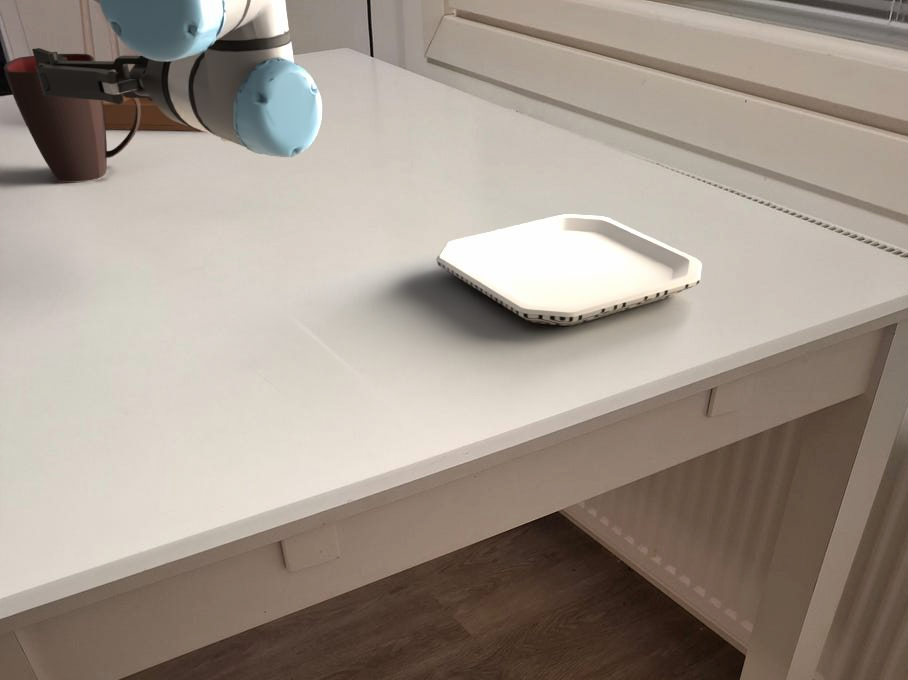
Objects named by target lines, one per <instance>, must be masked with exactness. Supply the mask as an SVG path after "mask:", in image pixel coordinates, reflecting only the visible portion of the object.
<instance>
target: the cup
mask: <svg viewBox="0 0 908 680" xmlns="http://www.w3.org/2000/svg"><path fill="white" fill-rule="evenodd" d="M58 55H61V56H64V57H66V59H67V61H96V59H95V58H94V56H92V55H91V54H89V53H58ZM36 66H37V64H36V61H35V57H34V55H27V56H20V57H17V58H14V59H12V60H10V61H8V62H6V63H5V64H4V66H3V71H4V74H5V77H6V80H7V83H8V86H9V88H10V92H11V95H12V96H13V99H14V101H15V103H16V106H17V108H18V111H19V113H20V115H21V117H22V118H23V122H24V123H25V126H26V127H27V129H28V131H29V133H30V135H31V137H32V140H33V141H34V143H35V145H36V147H37V149H38V151H39V153H40V155H41V156H42V158H43V160H44V161H45V163H46V165H47V166H48V168H49V170H50V171H51V173H52V175H53V176H54V178H55V179H56V180H57V181H59V182H60V183H79V182H80V183H81V182H89V181H96V180H100V179H101V178H103V177H104V176H105V175H106V174H107V170H108V169H107V168H108V167H107V166H108V159H110V158H113V157H115V156H117V155H118V154H120V153H121V152H122V151H123V150H124V149H125V148H126V147H127V146H128V145H129V144H130V143H131V141H132V140H133V138H134V137H135V135H136V133H137V131H138V130H137V129H138V126H139V123H140V116H141V107H140V102H139V99H138V98H133V99H134V101H135V105H136V115H135V121H134V124H133V127H132V129H131V130H129V132H128V134H127V135H126V137H124V139H123V140H122V141H121V142H120V143H119V144H118V145H117V146H116V147H114V148H113V149H111V150H108V146H107V145H108V144H107V143H108V141H107V129H106V128H105V117H104V108H103V101H102V100H91V99H80V98H68V97H57V96H45V95H44V93H43V90H42V86H41V83H40V80H39V76H38V73H37V69H36Z"/></svg>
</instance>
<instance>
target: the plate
mask: <svg viewBox="0 0 908 680" xmlns="http://www.w3.org/2000/svg"><path fill="white" fill-rule="evenodd" d="M436 263H437V265H438V266H439V267H440V268H442V269H444V270H445V271H447V272H448V273H450V274H452V275H453V276H455V277H457V278H458V279H460V280H462V281H463V282H464V283H466V284H468V285H469V286H471V287H473V288H474V289H476V290H478V291H479V292H480V293H482V294H484V295H485V296H487V297H489V298H490V299H491V300H493V301H495V302H496V303H498V304H499V305H502V307H504V308H506V309H508V310H509V311H511V312H512V313H514V314H516V315H517V316H519V317H520V318H522V319H524V320H525V321H527V322H529V323H532V324H535V325H536V324H538V325H548V326H559V327H560V326H561V327H571V326H575V325H580V324H583V323H586V322H590V321H593V320H597V319H600V318H603V317H607V316H610V315H614V314H617V313H621V312H624V311H627V310H630V309H635V308H637V307H641V306H645V305H647V304H651V303H654V302H658V301H662V300H664V299H668V298H670V297H673V296H675V295H677V294H679V293H681V292H683V291H686V290H689V289H691V288H693V287H695V286H697V285H698V284H700V282H701V276H702V267H703V263H702V262H701V261H700V259H698V258H697V257H694V256H692V255H690V254H688V253H686V252H684V251H681V250H679V249H677V248H675V247H673V246H671V245H668V244H667V243H664V242H662V241H659V240H657V239H655V238H653V237H651V236H649V235H646V234H644V233H642V232H639V231H637V230H635V229H633V228H632V227H628V226H626V225H624V224H622V223H620V222H618V221H616V220H613V219H611V218H610V217H607V216H602V215H601V216H600V215H589V214H588V215H585V214H571V213H567V214H566V213H565V214H560V215H555V216H550V217H546V218H543V219H542V218H541V219H538V220H533V221H529V222H524V223H520V224H517V225H513V226H508V227H504V228H500V229H496V230H491V231H487V232H483V233H478V234H474V235H470V236H465V237H461V238H457V239H452V240H450V241H447V243H446V244H445V245H444V247H443V248H442V250H441V252H440V253H439V254H438V255H437V257H436Z"/></svg>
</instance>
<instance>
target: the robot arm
mask: <svg viewBox="0 0 908 680" xmlns="http://www.w3.org/2000/svg"><path fill="white" fill-rule="evenodd" d="M93 1H95V2H96V3H97V4H99V6H100V9H101V11H102V14H103V16H104V18H105V20H106V21H107V23H108V24H109V25H110V27H111V28H112V30H113V32H114V33H115V34H116V35H117V36H118V38H119V40H120V41H121V42H122V43H123V44H124V45H125V46H126V47H127V48H129V49H130V50H131V51H133V52H134V53H136V54H137V55H120V56H118V57H116V58H115V59H114V60H113V61H112V60H111V61H110V60H95V61H67V59H66V57H64V56H61V55H58V54H59V53H58V51H49V50H46V49H42V48H40V47H37V48H32V49H31V50H32V54H33V56H34V57H35V61H36V64H37V66H36V69H37V73H38V76H39V80H40V83H41V86H42V90H43V93H44V95H45V96H57V97H68V98H80V99H91V100H102V101H107V102H110V103H115V104H122V103H124V102H125V100H124V97H126V98H147V99H149V100H150V101H154V103H155V104H156V105H157V107H158V108H159V109H160V110H161V111H162V112H163V113H164V114H165V115H166V116H167V117H169V118H170V119H172V120H174V121H176V122H179V123H181V124H184V125H187V126H189V127H192V128H197V129H199V130H202V131H201V132H205V133H208V134H211V135H213V136H215V137H218V138H220V140H221V141H222V142H223V143H228V142H231V143H234V144H236V145H238V146H241V147H244V148H245V149H247V150H248V151H250V152H252V153H255V154H259V155H266V156H269V157H277V158H285V159H286V158H294V157H296V156H298V155H301V154H302V153H304V151H306V150H307V149H308V148H309V147H310V146H311V145H312V144H313V142H314V141H315V139H316V138H317V135H318V133H319V130H320V127H321V124H322V119H323V117H322V116H323V103H322V97H321V94H320V91H319V90H318V86H317V84H316V83H315V81H314V80H313V78H312V76H311V74H310V73H309V72H308V71H307V70H306V69H305V68H304V67H302V66H300V65H298V63H296V62H295V60H294V52H293V51H294V50H293V44H292V39H291V35H290V29H289V19H288V13H287V5H286V0H93ZM129 65H133V66H132V68H130V69H129Z"/></svg>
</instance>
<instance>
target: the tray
mask: <svg viewBox="0 0 908 680" xmlns="http://www.w3.org/2000/svg"><path fill="white" fill-rule="evenodd" d="M138 99H139V102H140V107H141V116H140V123H139V126H138V129H137V131H187V132H188V131H190V132H191V131H192V132H195V131H196V132H203V131H202V130H199V129H197V128H192V127H189V126H187V125H184V124H181V123H179V122H176V121H174V120H172V119H170V118H169V117H167V116H166V115H165V114H164V113H163V112H162V111H161V110H160V109H159V108H158V107H157V105H156V104H155V103H154V101H150V100H149V99H147V98H138ZM124 100H125V102H124V103H122V104H115V103H110V102H107V101H103V108H104V117H105V128H106V130H129V131H131V129H132V127H133V124H134V121H135V115H136V105H135V101H134V99H133V98H126V97H124Z"/></svg>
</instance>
